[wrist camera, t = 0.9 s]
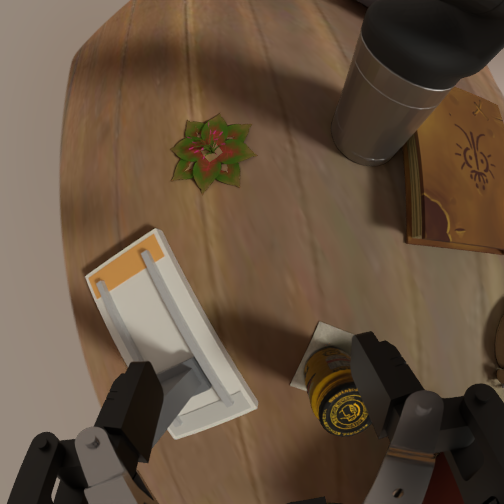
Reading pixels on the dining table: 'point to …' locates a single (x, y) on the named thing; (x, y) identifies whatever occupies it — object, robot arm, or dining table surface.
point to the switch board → (168, 329)
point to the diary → (457, 176)
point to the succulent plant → (203, 168)
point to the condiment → (332, 382)
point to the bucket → (442, 484)
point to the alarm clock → (500, 350)
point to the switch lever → (179, 391)
